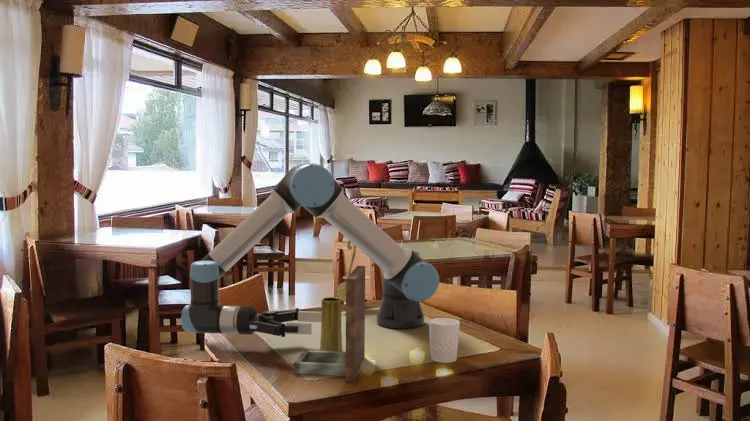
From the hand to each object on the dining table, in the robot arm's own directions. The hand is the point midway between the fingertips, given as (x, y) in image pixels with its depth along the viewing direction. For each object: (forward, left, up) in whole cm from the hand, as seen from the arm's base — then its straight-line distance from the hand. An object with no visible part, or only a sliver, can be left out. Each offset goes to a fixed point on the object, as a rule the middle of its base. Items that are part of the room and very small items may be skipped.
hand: (316, 322), depth 173 cm
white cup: (-31, +14, -8) cm, 35 cm away
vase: (-4, +1, -8) cm, 9 cm away
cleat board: (-1, +15, -8) cm, 17 cm away
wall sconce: (-21, -51, -8) cm, 56 cm away
